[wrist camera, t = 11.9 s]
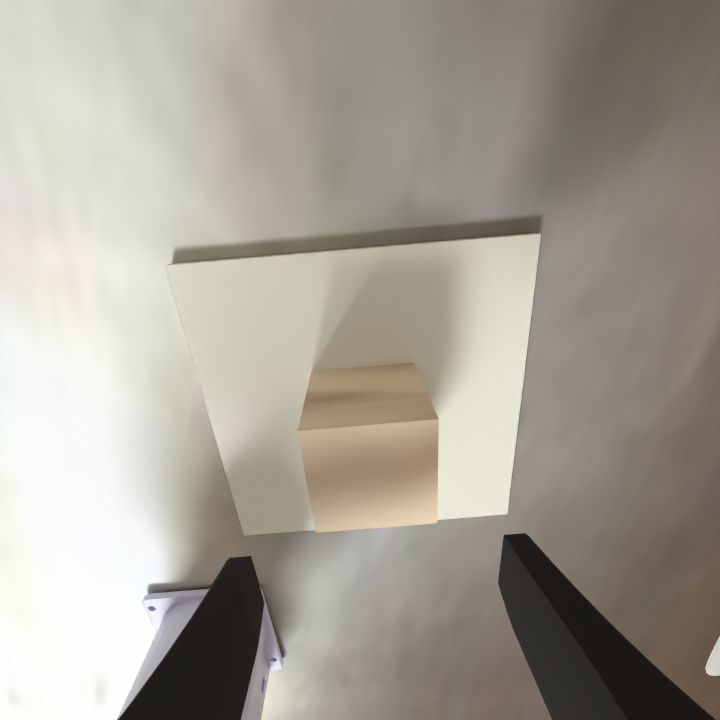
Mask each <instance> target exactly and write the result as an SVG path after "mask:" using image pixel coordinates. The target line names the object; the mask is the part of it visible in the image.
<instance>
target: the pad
mask: <svg viewBox="0 0 720 720" xmlns="http://www.w3.org/2000/svg"><path fill="white" fill-rule="evenodd" d="M540 239H541V234H538V233H529V234H517V235H505V236H494V237H482V238H470V239H458V240H446V241H435V242H423V243H411V244H399V245H387V246H376V247H364V248H352V249H340V250H329V251H317V252H305V253H293V254H281V255H270V256H258V257H246V258H234V259H222V260H211V261H199V262H187V263H175V264H169V265H165V269H166V273H167V276H168V279H169V283H170V286H171V290H172V293H173V296H174V300H175V303H176V307H177V310H178V314H179V317H180V320H181V324H182V327H183V331H184V334H185V337H186V341H187V344H188V348H189V351H190V354H191V358H192V361H193V365H194V368H195V371H196V375H197V378H198V382H199V385H200V388H201V392H202V395H203V399H204V402H205V405H206V409H207V412H208V416H209V419H210V422H211V426H212V429H213V433H214V436H215V440H216V443H217V446H218V450H219V453H220V457H221V460H222V463H223V467H224V470H225V474H226V477H227V480H228V484H229V487H230V491H231V494H232V497H233V501H234V504H235V508H236V511H237V514H238V518H239V521H240V525H241V528H242V531H243V535H244V536H249V535H261V534H273V533H285V532H297V531H309V530H315V527H314V521H313V516H312V510H311V504H310V499H309V493H308V488H307V482H306V476H305V471H304V465H303V459H302V454H301V448H300V443H299V437H298V427H299V422H300V418H301V414H302V409H303V405H304V401H305V397H306V392H307V388H308V384H309V379H310V375H311V371H320V370H332V369H344V368H356V367H368V366H380V365H392V364H404V363H414V364H415V366H416V368H417V371H418V373H419V375H420V377H421V380H422V382H423V384H424V387H425V389H426V391H427V393H428V396H429V398H430V400H431V403H432V405H433V407H434V409H435V412H436V414H437V416H438V419H439V440H438V508H437V520H442V519H454V518H466V517H478V516H490V515H503V514H507V511H508V503H509V495H510V486H511V478H512V470H513V462H514V453H515V445H516V437H517V429H518V420H519V412H520V404H521V396H522V387H523V379H524V371H525V363H526V354H527V346H528V338H529V329H530V321H531V313H532V305H533V296H534V288H535V280H536V272H537V263H538V255H539V247H540Z"/></svg>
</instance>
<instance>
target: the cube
mask: <svg viewBox="0 0 720 720" xmlns="http://www.w3.org/2000/svg"><path fill="white" fill-rule="evenodd" d="M298 437H299V443H300V448H301V454H302V459H303V465H304V471H305V476H306V482H307V488H308V493H309V499H310V504H311V510H312V516H313V521H314V527H315V533H321V532H334V531H346V530H358V529H370V528H382V527H394V526H407V525H419V524H431V523H437V508H438V440H439V419H438V416H437V414H436V412H435V409H434V407H433V405H432V403H431V400H430V398H429V396H428V393H427V391H426V389H425V387H424V384H423V382H422V380H421V377H420V375H419V373H418V371H417V368H416V366H415V364H414V363H404V364H392V365H380V366H368V367H356V368H344V369H332V370H320V371H311V375H310V379H309V384H308V388H307V392H306V397H305V401H304V405H303V409H302V414H301V418H300V422H299V427H298Z"/></svg>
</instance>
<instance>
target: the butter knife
mask: <svg viewBox="0 0 720 720" xmlns="http://www.w3.org/2000/svg"><path fill="white" fill-rule="evenodd" d="M705 669H706V673H707V674H709V675H714V676H716V675H720V637H719V639H718V641H717V643H716V645H715V647H714V649H713V651H712V653H711V655H710V657H709V659H708V662H707V664H706V668H705Z"/></svg>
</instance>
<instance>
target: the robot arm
mask: <svg viewBox="0 0 720 720" xmlns="http://www.w3.org/2000/svg"><path fill="white" fill-rule="evenodd" d="M498 584H499V588H500V591H501V594H502V597H503V600H504V603H505V607H506V610H507V613H508V616H509V619H510V622H511V624H512V627H513V630H514V632H515V634H516V637H517V639H518V641H519V644H520V646H521V648H522V651H523V653H524V655H525V658H526V660H527V662H528V665H529V667H530V669H531V672H532V674H533V676H534V679H535V681H536V683H537V685H538V688H539V690H540V692H541V695H542V697H543V699H544V702H545V704H546V706H547V709H548V711H549V713H550V716H551V718H552V720H716V719H714V718H713V717H712V716H711V715H710V714H708V713H707V712H706V711H705V710H704V709H703V708H701V707H700V706H699V705H698V704H697V703H696V702H695V701H693V700H692V699H691V698H690V697H689V696H688V695H687V694H685V693H684V692H683V691H682V690H681V689H680V688H679V687H677V686H676V685H675V684H674V683H673V682H672V681H671V680H670V679H669V678H668V677H666V676H665V675H664V674H663V673H662V672H661V671H660V670H659V669H658V668H657V667H656V666H654V665H653V664H652V663H651V662H650V661H649V660H648V659H647V658H646V657H645V656H644V655H643V654H642V653H641V652H640V651H638V650H637V649H636V648H635V647H634V646H633V645H632V644H631V643H630V642H629V641H628V640H627V639H626V638H625V637H624V636H623V635H622V634H621V633H620V632H619V631H618V630H617V629H616V628H615V627H614V626H613V625H612V624H611V623H610V622H609V621H608V620H607V619H606V618H605V617H604V616H603V615H602V614H601V613H600V612H599V611H598V610H597V609H596V608H595V607H594V606H593V605H592V604H591V603H590V602H589V601H588V600H587V599H586V598H585V597H584V596H583V595H582V594H581V593H580V592H579V591H578V590H577V589H576V588H575V586H574V585H573V584H572V583H571V582H570V581H569V580H568V579H567V578H566V577H565V576H564V575H563V574H562V572H561V571H560V570H559V569H558V568H557V567H556V566H555V565H554V564H553V563H552V562H551V560H550V559H549V558H548V557H547V556H546V555H545V554H544V553H543V552H542V550H541V549H540V548H539V547H538V546H537V545H536V544H535V543H534V542H533V540H532V539H531V538H530V537H529V536H528V535H527V534H526V533H524V534H512V535H504V538H503V547H502V555H501V563H500V572H499V580H498ZM142 604H143V606H144V608H145V610H146V612H147V614H148V616H149V618H150V620H151V622H152V623H153V625H154V627H155V629H156V631H157V633H156V636H155V638H154V640H153V642H152V644H151V647H150V649H149V651H148V653H147V655H146V657H145V660H144V662H143V664H142V666H141V668H140V671H139V673H138V675H137V677H136V679H135V682H134V684H133V686H132V688H131V690H130V693H129V695H128V697H127V699H126V701H125V704H124V706H123V708H122V710H121V712H120V714H119V717H118V719H117V720H261V716H262V710H263V704H264V699H265V693H266V687H267V681H268V676H269V671H277V670H280V669H281V668H282V666H283V659H282V656H281V653H280V649H279V646H278V642H277V639H276V635H275V632H274V628H273V625H272V621H271V618H270V614H269V611H268V608H267V604H266V601H265V597H264V594H263V590H262V588H261V587H260V586H259V582H258V579H257V575H256V572H255V569H254V565H253V562H252V558H251V556H248V557H236V558H229V559H228V560H227V561H226V563H225V565H224V566H223V568H222V569H221V571H220V573H219V574H218V576H217V578H216V579H215V581H214V582H213V584H212V586H211V587H210V589H199V590H187V591H175V592H163V593H151V594H147V595H146V596H145V597H144V599H143V601H142Z"/></svg>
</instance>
